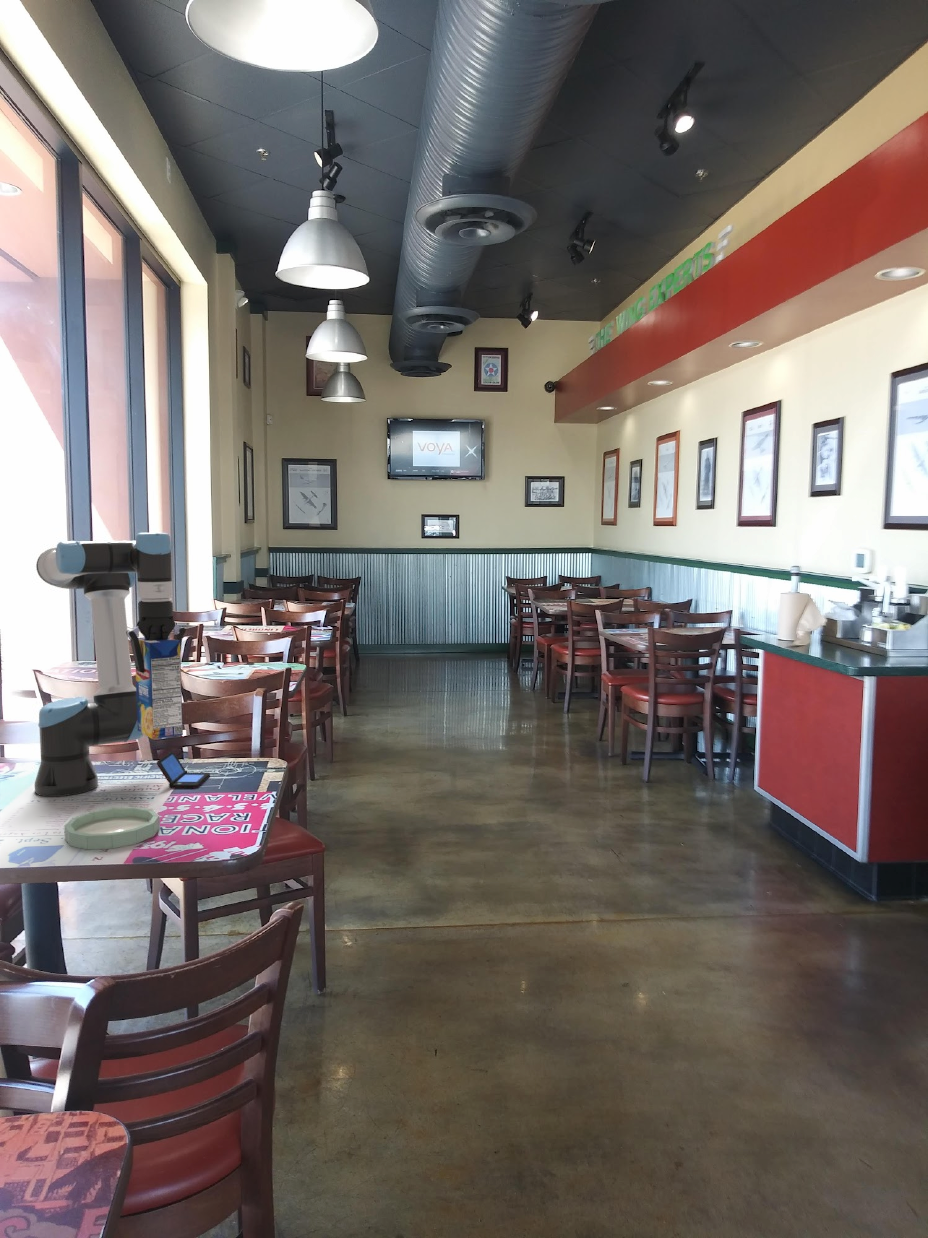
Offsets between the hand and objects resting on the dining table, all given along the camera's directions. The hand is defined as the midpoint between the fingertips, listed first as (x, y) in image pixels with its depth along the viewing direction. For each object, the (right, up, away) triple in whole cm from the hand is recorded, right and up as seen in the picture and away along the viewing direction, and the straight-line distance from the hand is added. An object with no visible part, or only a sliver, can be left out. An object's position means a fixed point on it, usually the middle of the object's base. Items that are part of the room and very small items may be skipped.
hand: (158, 700), depth 198 cm
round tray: (-8, -29, -7) cm, 31 cm away
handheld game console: (-5, -26, +33) cm, 42 cm away
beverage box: (0, -8, +1) cm, 8 cm away
